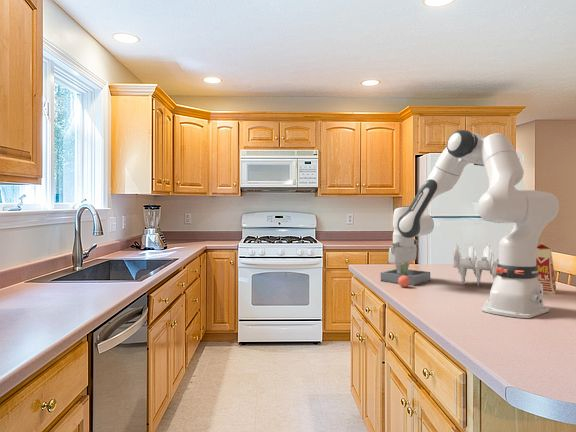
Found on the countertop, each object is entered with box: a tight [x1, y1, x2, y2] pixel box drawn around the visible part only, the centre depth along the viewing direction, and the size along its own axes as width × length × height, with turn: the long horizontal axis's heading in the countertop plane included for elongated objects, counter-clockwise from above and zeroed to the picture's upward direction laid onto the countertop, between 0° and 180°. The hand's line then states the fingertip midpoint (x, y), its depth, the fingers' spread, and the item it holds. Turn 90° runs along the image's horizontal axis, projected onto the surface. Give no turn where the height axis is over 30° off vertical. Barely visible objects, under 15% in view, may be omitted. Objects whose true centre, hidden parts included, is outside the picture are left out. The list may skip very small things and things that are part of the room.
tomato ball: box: [398, 276, 410, 288], centre depth 173 cm, size 5×5×5 cm
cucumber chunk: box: [397, 263, 407, 275], centre depth 189 cm, size 4×4×5 cm
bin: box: [380, 268, 431, 287], centre depth 187 cm, size 16×16×4 cm
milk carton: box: [536, 240, 557, 295], centre depth 165 cm, size 9×9×20 cm
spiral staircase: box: [453, 243, 499, 287], centre depth 176 cm, size 18×18×25 cm
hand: (402, 272), depth 189 cm, fingers closed on cucumber chunk, 4 cm apart
